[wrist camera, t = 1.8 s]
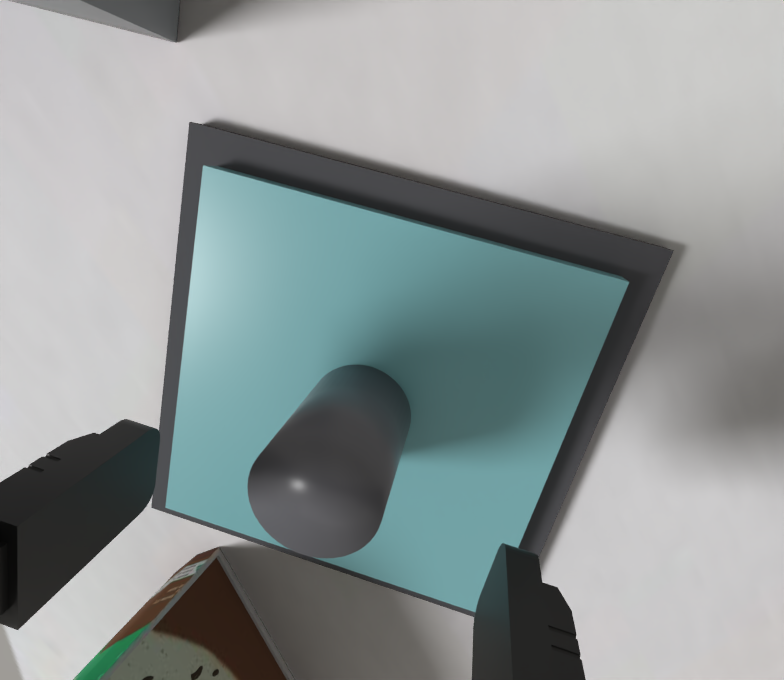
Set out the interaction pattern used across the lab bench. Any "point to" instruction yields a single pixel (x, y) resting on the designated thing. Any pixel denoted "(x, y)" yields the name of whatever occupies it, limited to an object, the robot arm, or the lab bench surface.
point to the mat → (439, 209)
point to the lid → (375, 382)
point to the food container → (192, 632)
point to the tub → (121, 14)
